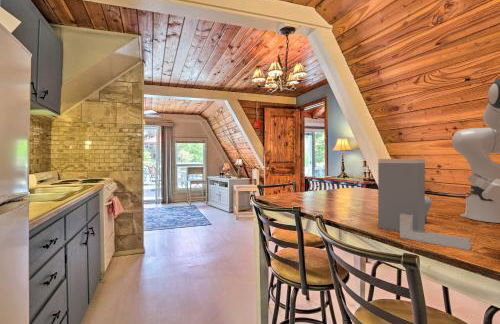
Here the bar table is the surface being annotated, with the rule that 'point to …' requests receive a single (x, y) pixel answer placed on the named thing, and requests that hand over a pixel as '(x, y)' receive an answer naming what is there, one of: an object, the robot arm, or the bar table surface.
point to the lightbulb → (427, 206)
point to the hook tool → (430, 235)
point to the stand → (401, 192)
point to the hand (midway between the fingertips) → (471, 176)
